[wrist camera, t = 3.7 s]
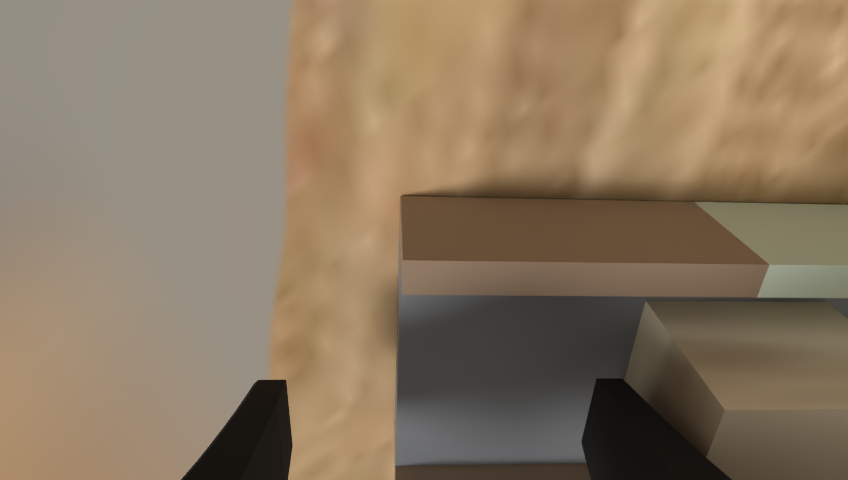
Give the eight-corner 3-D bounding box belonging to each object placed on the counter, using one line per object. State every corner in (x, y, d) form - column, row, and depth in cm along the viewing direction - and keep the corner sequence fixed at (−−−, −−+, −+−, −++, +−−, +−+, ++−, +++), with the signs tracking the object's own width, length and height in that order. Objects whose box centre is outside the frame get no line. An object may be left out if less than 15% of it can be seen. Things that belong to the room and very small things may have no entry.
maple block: (765, 435, 15) (859, 558, 12) (608, 438, 15) (664, 563, 12) (826, 301, 13) (959, 407, 10) (645, 301, 13) (725, 410, 10)
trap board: (973, 426, 19) (1077, 511, 16) (394, 431, 17) (395, 524, 14) (1122, 210, 15) (1294, 271, 12) (400, 195, 14) (403, 260, 11)
